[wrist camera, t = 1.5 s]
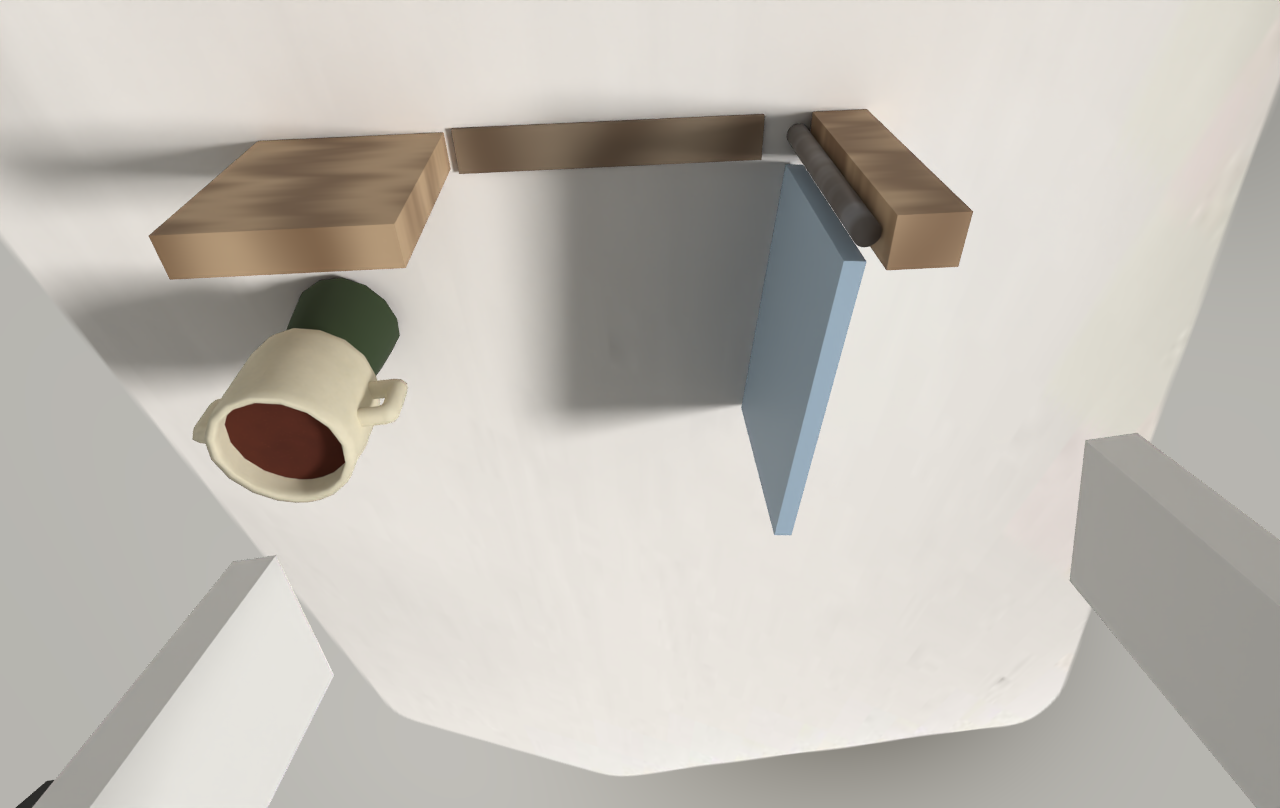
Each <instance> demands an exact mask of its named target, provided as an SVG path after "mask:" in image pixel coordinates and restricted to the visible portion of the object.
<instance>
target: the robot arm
mask: <svg viewBox="0 0 1280 808" xmlns="http://www.w3.org/2000/svg"><path fill="white" fill-rule="evenodd" d="M1070 582H1071V583H1072V584H1073V586H1074V587H1075V588H1076V589H1077V590H1078V592H1079V593H1080V594H1081V595H1082V596H1083V598H1084V599H1085V600H1086V601H1087V603H1088V604H1089V605H1090V606H1091V607H1092V609H1093V610H1094V611H1095V612H1096V613H1097V615H1098V616H1099V617H1100V618H1101V620H1102V621H1103V622H1104V623H1105V624H1106V626H1107V627H1108V628H1109V629H1110V630H1111V631H1112V633H1113V634H1114V635H1115V636H1116V638H1117V639H1118V640H1119V641H1120V642H1121V644H1122V645H1123V646H1124V647H1125V649H1126V650H1127V651H1128V652H1129V654H1130V655H1131V656H1132V657H1133V658H1134V659H1135V661H1136V662H1137V663H1138V664H1139V666H1140V667H1141V668H1142V669H1143V671H1144V672H1145V673H1146V674H1147V675H1148V676H1149V678H1150V679H1151V680H1152V681H1153V683H1154V684H1155V685H1156V686H1157V688H1158V689H1159V690H1160V691H1161V692H1162V694H1163V695H1164V696H1165V697H1166V698H1167V700H1168V701H1169V702H1170V703H1171V704H1172V706H1173V707H1174V708H1175V709H1176V710H1177V712H1178V713H1179V714H1180V716H1182V718H1183V719H1184V720H1185V722H1186V723H1187V724H1188V725H1189V726H1190V728H1191V729H1192V730H1193V731H1194V733H1195V734H1196V735H1197V736H1198V737H1199V739H1200V740H1201V741H1202V742H1203V743H1204V745H1205V746H1206V747H1207V748H1208V749H1209V751H1210V752H1211V753H1212V754H1213V756H1214V757H1215V758H1216V759H1217V760H1218V762H1219V763H1220V764H1221V765H1222V767H1223V768H1224V769H1225V770H1226V771H1227V772H1228V774H1229V775H1230V776H1231V777H1232V779H1233V780H1234V781H1235V782H1236V784H1237V785H1238V786H1239V787H1240V788H1241V790H1242V791H1243V792H1244V793H1245V794H1246V796H1247V797H1248V798H1249V799H1250V800H1251V802H1252V803H1253V804H1254V805H1255V807H1256V808H1280V540H1279V539H1278V538H1276V537H1275V536H1274V535H1272V534H1271V533H1269V532H1268V531H1267V530H1266V529H1264V528H1263V527H1262V526H1260V525H1259V524H1258V523H1256V522H1255V521H1254V520H1252V519H1251V518H1250V517H1248V516H1247V515H1246V514H1244V513H1243V512H1242V511H1240V510H1239V509H1238V508H1236V507H1235V506H1234V505H1232V504H1231V503H1230V502H1228V501H1227V500H1226V499H1224V498H1223V497H1222V496H1220V495H1219V494H1218V493H1216V492H1215V491H1214V490H1212V489H1211V488H1210V487H1208V486H1207V485H1206V484H1204V483H1203V482H1202V481H1200V480H1199V479H1197V478H1196V477H1195V476H1194V475H1192V474H1191V473H1190V472H1188V471H1187V470H1186V469H1184V468H1183V467H1182V466H1180V465H1179V464H1178V463H1177V462H1175V461H1174V460H1173V459H1171V458H1170V457H1168V456H1167V455H1166V454H1164V453H1163V452H1162V451H1161V450H1159V449H1158V448H1157V447H1155V446H1154V445H1153V444H1151V443H1150V442H1149V441H1147V440H1146V439H1145V438H1143V437H1142V436H1141V435H1139V434H1138V433H1133V434H1126V435H1119V436H1112V437H1105V438H1098V439H1091V440H1085V449H1084V458H1083V467H1082V475H1081V484H1080V493H1079V502H1078V511H1077V520H1076V529H1075V537H1074V546H1073V555H1072V564H1071V573H1070ZM333 676H334V674H333V672H332V670H331V668H330V666H329V664H328V662H327V660H326V658H325V655H324V653H323V651H322V649H321V647H320V645H319V643H318V641H317V639H316V637H315V635H314V633H313V631H312V629H311V626H310V624H309V622H308V620H307V618H306V616H305V614H304V612H303V610H302V608H301V606H300V604H299V602H298V599H297V597H296V595H295V593H294V591H293V589H292V587H291V585H290V583H289V581H288V579H287V577H286V575H285V572H284V570H283V568H282V566H281V564H280V562H279V560H278V558H277V556H276V555H275V556H268V557H262V558H254V559H247V560H240V561H233V562H232V563H231V565H230V566H229V567H228V568H227V570H226V571H225V572H224V573H223V574H222V576H221V577H220V578H219V579H218V581H217V582H216V583H215V584H214V586H213V587H212V588H211V589H210V590H209V592H208V593H207V594H206V595H205V596H204V598H203V599H202V600H201V601H200V603H199V604H198V605H197V606H196V608H195V609H194V610H193V611H192V612H191V614H190V615H189V616H188V617H187V619H186V620H185V621H184V622H183V623H182V625H181V626H180V627H179V628H178V630H177V631H176V632H175V633H174V635H173V636H172V637H171V638H170V639H169V641H168V642H167V643H166V644H165V646H164V647H163V648H162V649H161V650H160V652H159V653H158V654H157V655H156V656H155V658H154V659H153V660H152V662H151V663H150V664H149V665H148V666H147V668H146V669H145V670H144V671H143V673H142V674H141V675H140V676H139V677H138V679H137V680H136V681H135V682H134V683H133V685H132V686H131V687H130V688H129V690H128V691H127V692H126V694H124V696H123V697H122V698H121V699H120V701H119V702H118V703H117V704H116V706H115V707H114V708H113V709H112V710H111V712H110V713H109V714H108V715H107V717H106V718H105V719H104V720H103V721H102V723H101V724H100V725H99V726H98V728H97V729H96V730H95V731H94V732H93V734H92V735H91V736H90V737H89V739H88V740H87V741H86V742H85V743H84V745H83V746H82V747H81V748H80V750H79V751H78V752H77V753H76V755H75V756H74V757H73V758H72V759H71V761H70V762H69V763H68V764H67V766H66V767H65V768H64V769H63V771H62V772H61V773H60V774H59V775H58V777H57V778H56V779H55V780H51V781H46V782H45V783H44V784H43V785H42V786H40V787H39V788H38V789H37V790H36V791H35V792H33V793H32V794H31V795H30V796H29V797H28V798H26V799H25V800H24V801H23V802H22V803H21V804H19V805H18V806H17V807H16V808H267V807H268V806H269V804H270V801H271V800H272V798H273V796H274V794H275V792H276V790H277V788H278V786H279V784H280V782H281V780H282V778H283V776H284V774H285V772H286V770H287V768H288V766H289V764H290V762H291V760H292V758H293V756H294V754H295V752H296V750H297V748H298V746H299V744H300V742H301V740H302V738H303V735H304V734H305V732H306V730H307V728H308V726H309V724H310V722H311V720H312V718H313V716H314V714H315V712H316V710H317V708H318V706H319V704H320V702H321V700H322V698H323V695H324V694H325V692H326V690H327V688H328V686H329V684H330V682H331V680H332V678H333Z"/></svg>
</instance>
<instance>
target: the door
mask: <svg viewBox="0 0 1280 808" xmlns="http://www.w3.org/2000/svg"><path fill="white" fill-rule="evenodd" d="M865 265H866V260H865V259H864V257H863V256H862V254H861V253H860V251H859V249H858V248H857V246H856V245H855V243H854V242H853V240H852V239H851V237H850V236H849V234H848V233H847V231H846V230H845V228H844V227H843V225H842V223H841V222H840V220H839V219H838V217H837V216H836V214H835V213H834V211H833V210H832V208H831V207H830V205H829V204H828V202H827V201H826V199H825V197H824V196H823V194H822V193H821V191H820V190H819V188H818V187H817V185H816V184H815V182H814V181H813V179H812V178H811V176H810V175H809V173H808V171H807V170H806V168H805V167H804V165H794V164H786V166H785V172H784V177H783V183H782V188H781V193H780V199H779V204H778V210H777V215H776V221H775V226H774V232H773V237H772V243H771V248H770V254H769V259H768V265H767V270H766V276H765V281H764V287H763V292H762V298H761V303H760V309H759V314H758V320H757V325H756V330H755V336H754V341H753V347H752V352H751V358H750V363H749V369H748V374H747V380H746V385H745V391H744V396H743V402H742V407H741V408H742V412H743V416H744V420H745V424H746V428H747V431H748V435H749V439H750V443H751V447H752V451H753V454H754V458H755V462H756V466H757V470H758V474H759V478H760V481H761V485H762V489H763V493H764V497H765V501H766V505H767V508H768V512H769V516H770V520H771V524H772V528H773V532H774V535H791V534H792V531H793V527H794V523H795V520H796V516H797V512H798V509H799V505H800V502H801V498H802V494H803V491H804V487H805V483H806V480H807V476H808V472H809V469H810V465H811V461H812V458H813V454H814V451H815V447H816V443H817V440H818V436H819V432H820V429H821V425H822V421H823V418H824V414H825V411H826V407H827V403H828V400H829V396H830V392H831V389H832V385H833V381H834V378H835V374H836V370H837V367H838V363H839V360H840V356H841V352H842V349H843V345H844V341H845V338H846V334H847V330H848V327H849V323H850V320H851V316H852V312H853V309H854V305H855V301H856V298H857V294H858V290H859V287H860V283H861V279H862V276H863V272H864V269H865Z"/></svg>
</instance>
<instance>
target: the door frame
mask: <svg viewBox="0 0 1280 808" xmlns="http://www.w3.org/2000/svg"><path fill="white" fill-rule="evenodd" d="M764 118H765V115H764V114H753V115H731V116H709V117H688V118H666V119H644V120H622V121H600V122H579V123H557V124H535V125H513V126H491V127H470V128H452V129H451V132H452V138H453V143H454V148H455V154H456V159H457V164H458V170H459V174H468V173H489V172H510V171H532V170H553V169H574V168H595V167H616V166H638V165H659V164H680V163H701V162H723V161H744V160H761V158H762V145H763V131H764ZM787 140H788V142H789V143H790V145H791V146H792V148H793V149H794V151H795V152H796V154H797V155H798V157H799V158H800V160H801V161H802V163H803V165H804V166H805V168H806V169H807V171H808V172H809V174H810V175H811V177H812V178H813V180H814V181H815V183H816V184H817V186H818V187H819V189H820V190H821V192H822V194H823V195H824V197H825V198H826V200H827V201H828V203H829V204H830V206H831V207H832V209H833V210H834V212H835V213H836V215H837V216H838V218H839V219H840V221H841V223H842V224H843V226H844V227H845V229H846V230H847V232H848V233H849V235H850V236H851V238H852V239H853V241H854V242H855V244H856V245H858V246H860V247H869V246H870V247H871V248H872V250H873V251H874V253H875V254H876V256H877V257H878V259H879V260H880V262H881V263H882V264H883V266H884V267H885V269H886V270H902V269H922V268H942V267H958V266H959V262H960V258H961V254H962V251H963V247H964V243H965V239H966V236H967V232H968V228H969V225H970V221H971V217H972V213H973V211H972V210H971V209H970V208H969V207H968V206H967V205H966V204H965V203H964V202H963V201H962V200H961V199H960V198H958V197H957V196H956V195H955V194H954V193H953V192H952V191H951V190H950V189H949V188H948V187H947V186H946V185H945V184H944V183H943V182H942V181H941V180H940V179H939V178H938V177H937V176H936V175H935V174H934V173H933V172H932V171H930V170H929V169H928V168H927V167H926V166H925V165H924V164H923V163H922V162H921V161H920V160H919V159H918V158H917V157H916V156H915V155H914V154H913V153H912V152H911V151H910V150H909V149H908V148H907V147H906V146H905V145H903V144H902V143H901V142H900V141H899V140H898V139H897V138H896V137H895V136H894V135H893V134H892V133H891V132H890V131H889V130H888V129H887V128H886V127H885V126H884V125H883V124H882V123H881V122H880V121H879V120H878V119H877V118H875V117H874V116H873V115H872V114H871V113H870V112H869V111H868V110H867V109H862V110H840V111H818V112H813V113H812V122H811V131H809V130H808V128H807V127H806V126H805V125H803V124H795V125H793V126H792V127H791V128H790V129H789V130H788V133H787ZM449 171H450V164H449V159H448V153H447V148H446V143H445V138H444V133H422V134H400V135H378V136H356V137H335V138H313V139H291V140H269V141H258V142H256V143H255V144H254V145H253V146H252V147H251V148H249V149H248V150H247V151H246V152H245V153H244V154H242V155H241V156H240V157H239V158H238V159H237V160H236V161H234V162H233V163H232V164H231V165H230V166H229V167H227V168H226V169H225V170H224V171H223V172H222V173H221V174H219V175H218V176H217V177H216V178H215V179H214V180H212V181H211V182H210V183H209V184H208V185H207V186H206V187H204V188H203V189H202V190H201V191H200V192H199V193H197V194H196V195H195V196H194V197H193V198H192V199H191V200H189V201H188V202H187V203H186V204H185V205H184V206H182V207H181V208H180V209H179V210H178V211H177V212H176V213H174V214H173V215H172V216H171V217H170V218H169V219H167V220H166V221H165V222H164V223H163V224H162V225H161V226H159V227H158V228H157V229H156V230H155V231H154V232H152V233H151V234H150V235H149V238H150V240H151V242H152V244H153V246H154V248H155V250H156V252H157V254H158V256H159V258H160V260H161V262H162V264H163V266H164V268H165V270H166V273H167V275H168V277H169V279H170V280H171V279H191V278H211V277H231V276H252V275H272V274H292V273H312V272H332V271H352V270H372V269H393V268H406V266H407V264H408V261H409V259H410V257H411V255H412V253H413V250H414V248H415V246H416V244H417V242H418V239H419V237H420V235H421V233H422V231H423V228H424V226H425V224H426V222H427V220H428V217H429V215H430V213H431V211H432V209H433V206H434V204H435V202H436V200H437V198H438V195H439V193H440V191H441V189H442V187H443V184H444V182H445V180H446V178H447V176H448V173H449Z"/></svg>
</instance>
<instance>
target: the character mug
mask: <svg viewBox="0 0 1280 808" xmlns="http://www.w3.org/2000/svg"><path fill="white" fill-rule="evenodd" d="M399 336H400V334H399V328H398V322H397V318H396V317H395V315H394V313H393V312H392V310H391V309H390V307H389V306H388V304H387V303H386V301H385V300H384V299H383V298H381V297H380V296H379V295H377V294H376V293H375V292H374V291H372V290H371V289H370V288H368V287H367V286H366V285H363V284H360V283H357V282H353V281H350V280H347V279H344V278H337V279H328V280H320V281H318V282H317V283H315V284H314V285H312V286H311V287H310V288H308V289H307V290H305V291H304V292H302V294H301V296H300V299H299V301H298V303H297V305H296V308H295V310H294V312H293V315H292V317H291V320H290V322H289V325H288V327H287V330H286V331H283V332H280V333H277V334H275V335H272V336H270V337H269V338H268V339H267V340H266V341H265V342H264V343H263V344H262V345H261V346H260V347H259V348H258V349H257V350H256V351H254V352H253V353H252V354H251V356H250V357H249V358H248V360H247V361H246V363H245V364H244V366H243V367H242V369H241V370H240V372H239V373H238V375H237V376H236V377H235V379H234V380H233V382H232V383H231V385H230V386H229V388H228V389H227V391H226V392H225V394H224V395H223V396H222V398H221V399H217V400H215V401H214V402H213V403H211V404H210V405H209V407H208V408H207V410H206V411H205V412H204V414H203V415H202V417H201V418H200V420H199V421H198V422H197V424H196V425H195V427H194V430H193V440H195V441H197V442H199V443H204V444H206V446H207V449H208V452H209V455H210V457H211V460H212V461H213V462H214V463H215V464H216V465H217V466H218V467H219V468H220V469H221V470H222V471H223V472H224V473H225V475H226V476H227V477H228V478H229V479H231V480H233V481H234V482H236V483H238V484H239V485H241V486H243V487H244V488H246V489H248V490H250V491H251V492H253V493H256V494H259V495H262V496H265V497H268V498H271V499H275V500H278V501H286V502H295V503H299V502H312V501H317V500H321V499H323V498H326V497H328V496H331V495H333V494H335V493H336V492H337V491H338V490H339V489H340V488H341V487H343V486H344V485H345V484H346V483H347V482H348V480H349V479H350V477H351V475H352V472H353V470H354V467H355V465H356V462H357V460H358V458H359V457H360V455H361V454H362V452H363V450H364V449H365V447H366V445H367V442H368V439H369V436H370V434H371V431H372V429H373V426H374V425H383V424H388V423H392V422H395V420H396V419H397V418H398V417H399V414H400V412H401V409H402V406H403V403H404V400H405V397H406V394H407V383H406V382H404V381H403V380H401V379H389V380H380V381H377V378H376V375H377V374H378V372H379V371H380V370H381V368H382V367H383V365H384V363H385V362H386V360H387V358H388V357H389V355H390V353H391V352H392V350H393V348H394V346H395V344H396V342H397V340H398V338H399ZM380 398H385V400H384V403H383V404H382V405H380Z"/></svg>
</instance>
